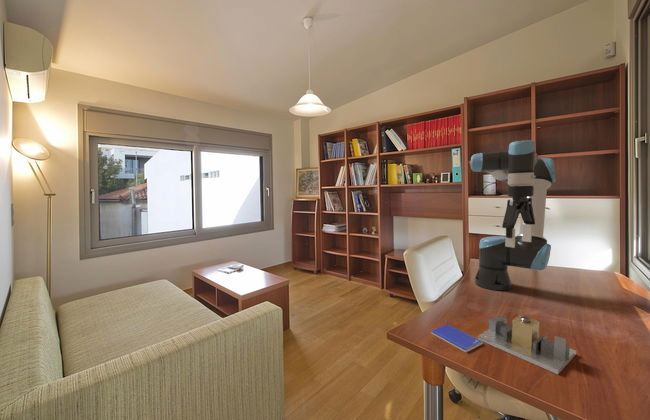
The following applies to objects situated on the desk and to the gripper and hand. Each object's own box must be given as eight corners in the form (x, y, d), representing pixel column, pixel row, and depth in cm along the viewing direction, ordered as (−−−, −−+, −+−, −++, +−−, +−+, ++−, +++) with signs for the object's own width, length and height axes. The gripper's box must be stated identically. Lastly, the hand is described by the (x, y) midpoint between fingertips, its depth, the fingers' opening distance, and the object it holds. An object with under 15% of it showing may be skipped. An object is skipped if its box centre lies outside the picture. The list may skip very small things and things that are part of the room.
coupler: (531, 349, 79) (532, 324, 78) (511, 341, 83) (512, 317, 82) (538, 343, 81) (539, 319, 81) (519, 336, 85) (519, 313, 85)
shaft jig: (477, 339, 87) (477, 323, 86) (498, 325, 95) (499, 311, 94) (559, 375, 70) (560, 355, 69) (577, 355, 78) (577, 337, 77)
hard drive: (482, 340, 84) (447, 323, 95) (465, 349, 80) (431, 330, 91) (482, 345, 84) (447, 328, 95) (465, 354, 80) (431, 334, 91)
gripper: (516, 186, 87) (514, 251, 89) (546, 184, 101) (544, 240, 103) (491, 186, 94) (490, 247, 95) (523, 184, 107) (521, 238, 109)
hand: (518, 244), depth 99 cm, fingers open, 13 cm apart
